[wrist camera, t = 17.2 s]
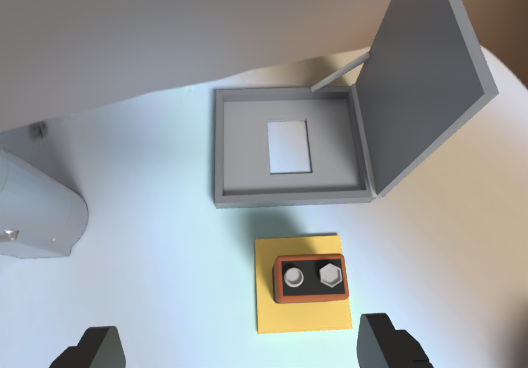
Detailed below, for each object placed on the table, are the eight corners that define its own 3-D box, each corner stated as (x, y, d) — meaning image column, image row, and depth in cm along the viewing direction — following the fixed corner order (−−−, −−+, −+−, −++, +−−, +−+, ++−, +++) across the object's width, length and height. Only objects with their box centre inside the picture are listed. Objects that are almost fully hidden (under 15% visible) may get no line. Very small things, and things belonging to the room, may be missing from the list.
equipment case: (377, 202, 42) (499, 93, 21) (216, 208, 42) (172, 102, 20) (356, 95, 49) (432, -71, 28) (217, 99, 48) (185, -69, 27)
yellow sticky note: (351, 328, 36) (352, 328, 36) (258, 333, 36) (258, 333, 36) (338, 236, 41) (339, 235, 40) (254, 240, 40) (254, 239, 40)
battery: (329, 301, 37) (353, 299, 28) (273, 304, 37) (278, 302, 28) (325, 264, 39) (347, 250, 29) (271, 266, 38) (275, 253, 29)
